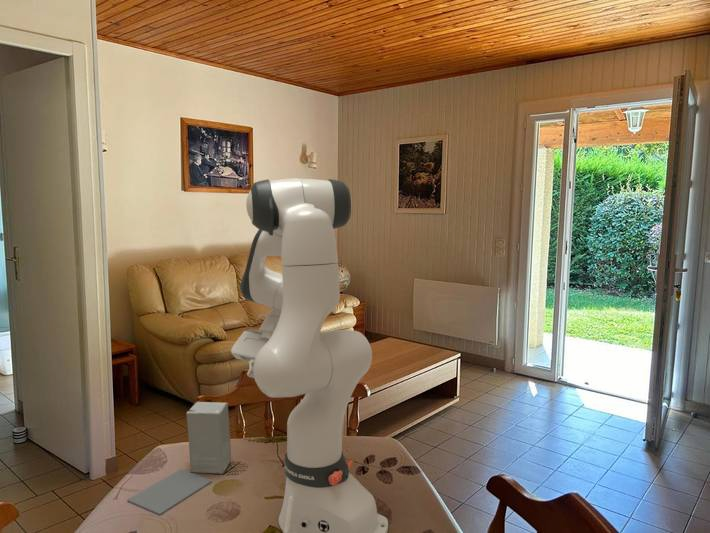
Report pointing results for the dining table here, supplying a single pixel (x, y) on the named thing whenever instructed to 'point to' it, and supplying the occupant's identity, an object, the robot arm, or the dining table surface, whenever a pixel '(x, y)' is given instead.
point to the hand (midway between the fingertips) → (252, 377)
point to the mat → (169, 491)
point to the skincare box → (209, 437)
